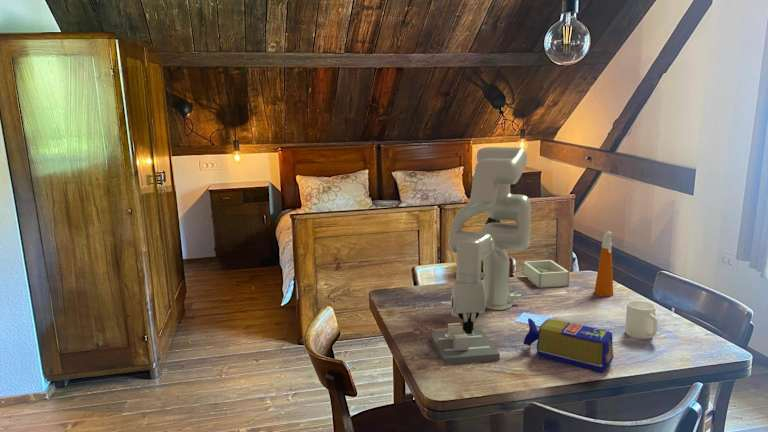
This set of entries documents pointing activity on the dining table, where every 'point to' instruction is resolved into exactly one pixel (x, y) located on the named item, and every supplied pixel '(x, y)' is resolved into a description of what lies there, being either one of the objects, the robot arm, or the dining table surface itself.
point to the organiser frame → (548, 279)
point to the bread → (572, 344)
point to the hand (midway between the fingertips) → (468, 332)
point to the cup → (641, 320)
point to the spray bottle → (605, 268)
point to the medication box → (542, 270)
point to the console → (477, 350)
